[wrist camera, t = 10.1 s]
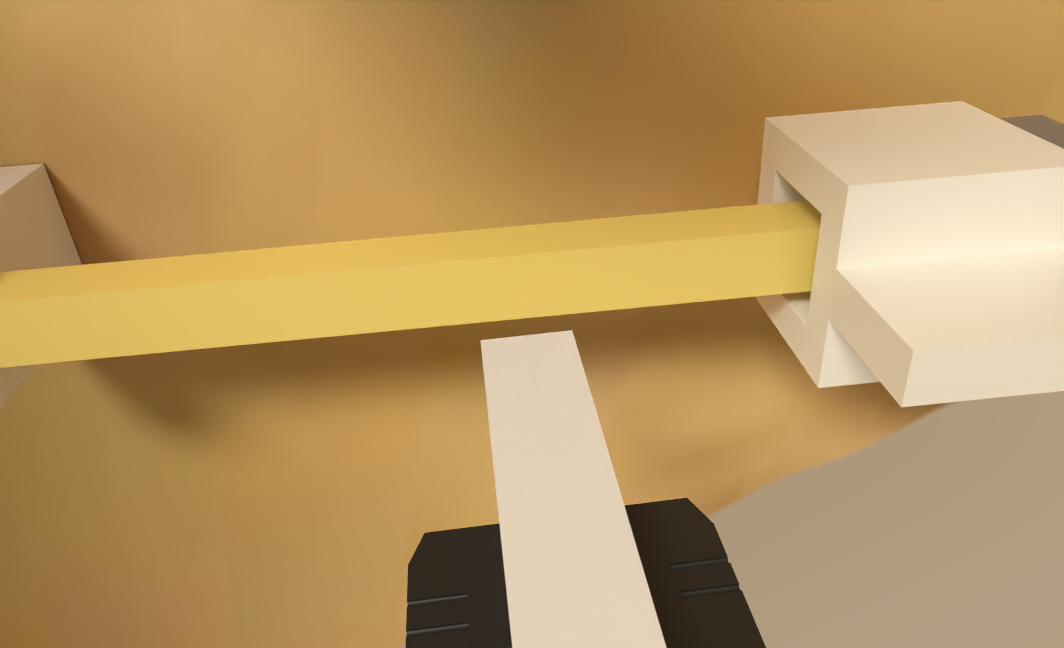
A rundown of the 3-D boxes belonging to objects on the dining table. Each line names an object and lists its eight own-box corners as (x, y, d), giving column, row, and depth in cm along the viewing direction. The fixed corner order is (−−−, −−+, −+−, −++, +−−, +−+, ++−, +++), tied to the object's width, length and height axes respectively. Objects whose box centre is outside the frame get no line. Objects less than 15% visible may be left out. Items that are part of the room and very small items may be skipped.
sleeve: (749, 289, 22) (884, 483, 15) (765, 117, 20) (933, 255, 13) (925, 272, 22) (1136, 456, 15) (962, 100, 20) (1232, 228, 13)
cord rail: (23, 301, 23) (-127, 456, 17) (-34, 170, 21) (-227, 292, 15) (1145, 199, 25) (1368, 308, 19) (1192, 67, 23) (1459, 142, 17)
